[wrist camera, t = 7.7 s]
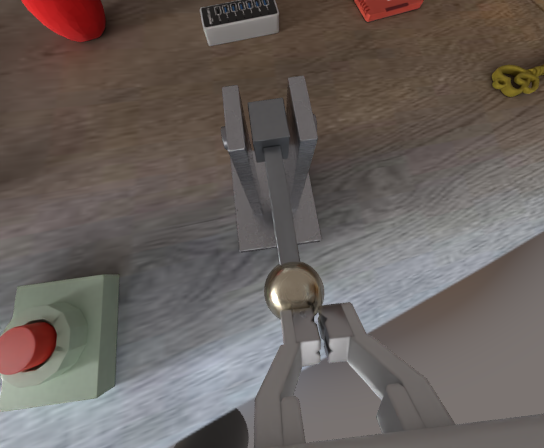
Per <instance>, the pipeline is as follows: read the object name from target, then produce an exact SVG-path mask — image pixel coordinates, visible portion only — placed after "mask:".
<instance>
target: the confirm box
mask: <svg viewBox="0 0 544 448" xmlns="http://www.w3.org/2000/svg"><path fill="white" fill-rule="evenodd" d="M118 297H119V274H103V275H96V276H89V277H81V278H74V279H67V280H60V281H53V282H46V283H39V284H32V285H25V286H18V287H17V292H16V299H15V305H14V312H13V318H12V320H11V321H10V322H9V324H8V325H7V327H6V329H5V330H4V332H3V333H2V335H3V334H4V333H5V332H6V331H8V330H9V329H11V328H14V327H17V326H22V325H27V324H32V323H38V322H46V323H49V324H51V325H52V326H53V327H54V328H55V331H56V333H57V341H56V347H55V350H54V352H53V353H52V355H51V356H50V357H49V358H48V359H47V360H46V361H45V362H43V363H42V364H40V365H37V366H35V367H32V368H29V369H27V370H24V371H21V372H19V373H16V374H12V375H5V374H2V373H0V376H1V378H2V379H3V382H2V389H1V395H0V412H4V411H11V410H18V409H25V408H32V407H39V406H46V405H53V404H60V403H67V402H74V401H80V400H87V399H94V398H98V397H99V396H101V395H102V394H104V393H105V392H107V391H108V390H110V389H111V388H113V387H114V386H115V370H116V346H117V322H118ZM2 335H1V336H2ZM1 336H0V337H1Z"/></svg>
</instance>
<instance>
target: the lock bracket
mask: <svg viewBox="0 0 544 448" xmlns="http://www.w3.org/2000/svg"><path fill="white" fill-rule="evenodd" d="M222 95H223V106H224V116H225V126H224V127H221V136H222V141H223V144H224V147H225V149H226V150H228V152H229V155H230V159H231V169H232V179H233V189H234V199H235V209H236V220H237V230H238V240H239V250H240V252H242V253H243V252H250V251H257V250H264V249H271V248H277V243H276V236H275V229H274V222H273V215H272V208H271V202H270V195H269V188H268V181H267V174H266V167H265V162H259V163H257V161H256V156H255V151H252V148H251V144H250V139H249V134H248V130H247V125H246V120H245V115H244V111H243V106H242V101H241V97H240V92H239V87H238V85H233V86H226V87H222ZM286 118H287V123H288V129H289V134H290V141H289V153H288V158H287V159H283V163H284V169H285V175H286V181H287V187H288V193H289V198H290V204H291V210H292V216H293V222H294V228H295V234H296V240H297V245H299V244H306V243H314V242H320V241H321V240H322V238H321V233H320V228H319V223H318V218H317V213H316V208H315V203H314V198H313V193H312V188H311V183H310V178H309V173H308V171H309V167H310V164H311V160H312V157H313V153H314V150H315V146H316V143H317V139H318V136H317V121H316V116H315V115H314V114H312V109H311V104H310V100H309V95H308V91H307V86H306V82H305V77H304V76H297V77H289V78H288V87H287V108H286Z"/></svg>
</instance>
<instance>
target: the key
mask: <svg viewBox="0 0 544 448" xmlns="http://www.w3.org/2000/svg"><path fill="white" fill-rule="evenodd" d="M503 73H504V74H510V75H513V76H515V78H514V82H515V83H516V84H518V85H520V88H519V89H516V88H514V87H513V86H512V85H511V78H510V77H507V76H505V75H504V74H503ZM540 75H544V64H543V65H542V66H537V67H534V68H531V69H528V70H525V69H523V68H521V67H519V66H515V65H504V66H501V67H499V68H498V69H497V70H496V71H495V72H494V73H493V74H492V79H493V81H494V82H493V83H492V86H493V87H494V88H495V89H500V90H501V92H502V93H503V94H504V95H506V96H508V97H513V96H516V95H518V94H520V93H522V92H523V93H526V94H529V93H532V92H534V91H535V90H536V89H537V88H538V86H539V78H538V76H540ZM530 81H531V82H532V87H531V88H529V87H528V86H529V84H530Z"/></svg>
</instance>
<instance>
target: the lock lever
mask: <svg viewBox="0 0 544 448" xmlns="http://www.w3.org/2000/svg"><path fill="white" fill-rule="evenodd" d="M248 110H249V117H250V125H251V132H252V140H253V146H254V151H255V156H256V161H257V163H259V162H265V167H266V174H267V181H268V188H269V195H270V202H271V208H272V215H273V222H274V229H275V236H276V243H277V250H278V257H279V265H277V266H276V267H275V268H274V269H273V270H272V271H271V272H270V273H269V275H268V277H267V279H266V282H265V286H264V296H265V301H266V304H267V306H268V308H269V309H270V311H271V312H272V313H273V314H274V315H275V316H276V317H277V318H279V319H280V320H281V315H280V311H281V310H290V309H300V308H311V307H312V310H313V313H314V316H315V315H316V314H317V313H318V307H319V306H322V304H323V300H324V286H323V282H322V280H321V278H320V276H319V274H318V273H317V272H316V271H315V270H314V269H313V268H312V267H311V266H309V265H308V264H306V263H303V262H300V258H299V252H298V246H297V240H296V234H295V228H294V222H293V216H292V210H291V204H290V198H289V193H288V187H287V181H286V175H285V169H284V163H283V159H287V158H288V153H289V141H290V134H289V129H288V123H287V118H286V112H285V107H284V101H283V98H277V99H270V100H263V101H256V102H248Z"/></svg>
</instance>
